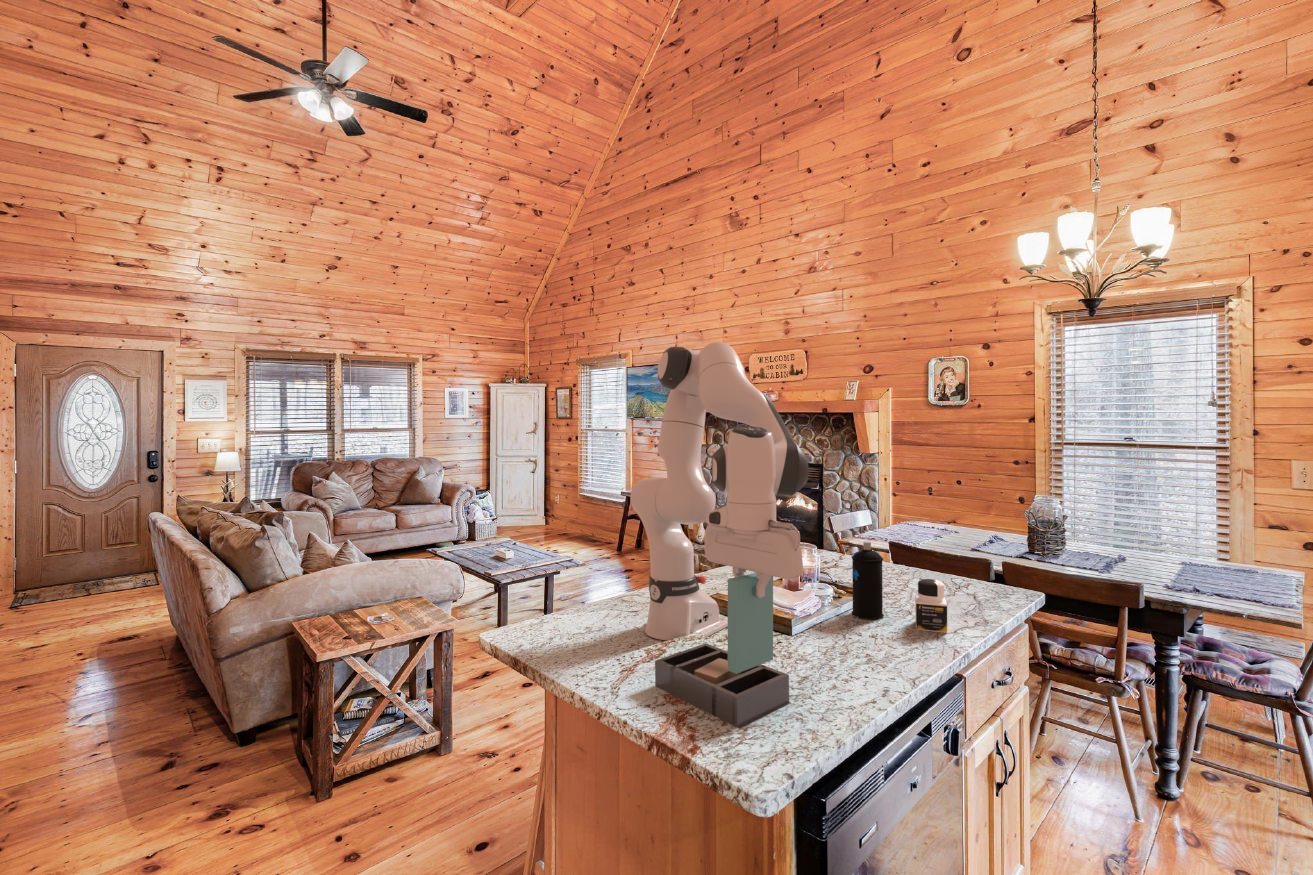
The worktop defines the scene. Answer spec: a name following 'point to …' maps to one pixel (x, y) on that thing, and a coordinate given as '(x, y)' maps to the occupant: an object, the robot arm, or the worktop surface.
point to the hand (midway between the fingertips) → (751, 594)
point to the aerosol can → (867, 584)
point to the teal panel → (749, 624)
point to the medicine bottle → (931, 606)
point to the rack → (723, 686)
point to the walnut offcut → (715, 671)
